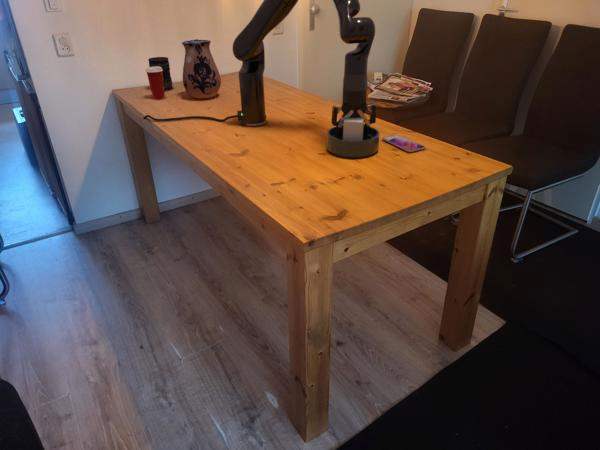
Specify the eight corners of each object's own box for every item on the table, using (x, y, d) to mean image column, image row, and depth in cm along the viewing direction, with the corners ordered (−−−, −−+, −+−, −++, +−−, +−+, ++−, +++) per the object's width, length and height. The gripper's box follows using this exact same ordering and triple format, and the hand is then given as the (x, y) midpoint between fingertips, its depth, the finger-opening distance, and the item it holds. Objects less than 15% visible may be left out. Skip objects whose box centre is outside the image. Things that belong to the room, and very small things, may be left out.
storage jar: (155, 87, 236) (149, 57, 228) (174, 86, 237) (169, 56, 229) (151, 91, 227) (146, 60, 220) (171, 91, 228) (166, 60, 221)
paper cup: (170, 97, 218) (165, 67, 211) (158, 100, 212) (153, 70, 205) (159, 95, 221) (154, 65, 214) (147, 98, 216) (141, 68, 209)
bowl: (332, 160, 144) (333, 143, 141) (322, 142, 159) (322, 126, 156) (384, 157, 146) (386, 139, 143) (370, 139, 161) (371, 122, 158)
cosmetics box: (361, 153, 147) (363, 121, 142) (341, 152, 148) (342, 121, 143) (363, 142, 156) (364, 112, 151) (344, 141, 157) (345, 111, 151)
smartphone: (397, 134, 162) (426, 147, 150) (397, 136, 162) (425, 149, 151) (381, 137, 159) (409, 150, 147) (381, 139, 159) (408, 153, 148)
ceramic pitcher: (189, 103, 207) (181, 45, 194) (180, 93, 224) (172, 39, 211) (226, 98, 213) (220, 42, 200) (215, 89, 230) (209, 36, 217)
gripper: (373, 83, 146) (370, 131, 154) (330, 85, 144) (329, 134, 152) (380, 88, 139) (376, 139, 148) (335, 91, 138) (334, 141, 146)
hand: (352, 136), depth 150 cm, fingers open, 8 cm apart
